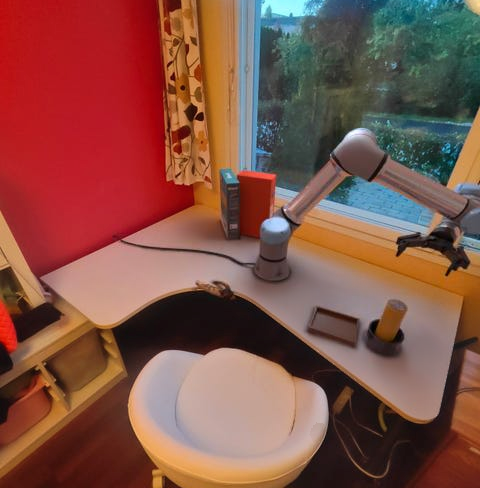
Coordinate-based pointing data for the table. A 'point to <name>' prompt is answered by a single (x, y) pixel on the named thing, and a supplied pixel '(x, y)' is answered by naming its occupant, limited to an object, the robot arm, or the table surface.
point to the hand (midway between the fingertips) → (421, 262)
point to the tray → (334, 325)
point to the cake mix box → (229, 203)
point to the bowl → (380, 345)
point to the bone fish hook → (217, 289)
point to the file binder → (255, 200)
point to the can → (391, 320)
